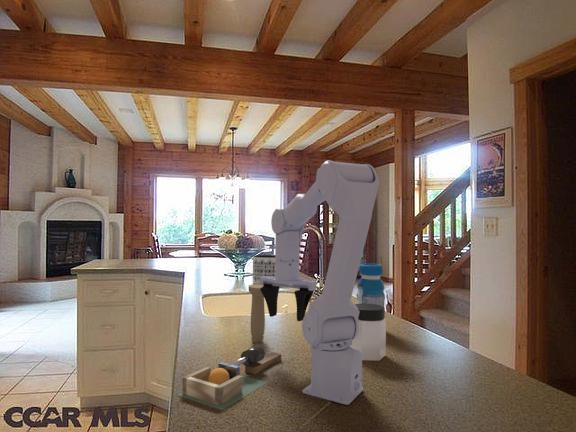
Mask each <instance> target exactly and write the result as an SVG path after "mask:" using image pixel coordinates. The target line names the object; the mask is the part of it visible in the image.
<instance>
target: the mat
mask: <svg viewBox="0 0 576 432" xmlns="http://www.w3.org/2000/svg"><path fill="white" fill-rule="evenodd" d="M240 376H242V393H240V394H238V395H237V396H235V397H233V398H231V399H230V400H228V401H226V402H225V403H223V404H221V405H216V404H213V403H210V402H207V401H204V400H201V399H198V398H195V397H192V396H189V395H186V394H183V393H182V392H183V391H181V392H179V393H177V394H176V396H178V397H182V398H184V399H187V400H190V401H194V402H195V403H199V404H202V405H205V406H207V407H211V408H213V409H217V410H220V411H223V410H226V409H227V408H228V407H229V408H230V406H232V405H233V404H235V403H237V402H238V401H240V400H242V399H243V398H245V397H246V396H248V395H250V394H251V393H253V392H255V391H256V390H258V389H260V388H262V387H263V386H265V385H266V384H268V381H264V380H261V379H257V378H253V377H250V376H245V375H241V374H240Z"/></svg>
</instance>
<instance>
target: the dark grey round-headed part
mask: <svg viewBox="0 0 576 432" xmlns="http://www.w3.org/2000/svg"><path fill="white" fill-rule="evenodd" d="M265 355H266V353H265V350H264V348H263V346H261V345H255V346H253V347H250V348H248V349H246V350H245V351H242V352H241V354H240V358H239V359H237V360H235V361H232V362H231V363H227V362H223V361H221V362H218V367H217V368H223V369H225V370H226V371H227V372H228V374H229V377H230V379H232V378H234V377H236V376H238V375H239V376H240V375H241V374H240V373H241V372H240V370H241V369H240V368H241V367H240V366H241V365H243V366H244V367H245V366H247V367H248V366H251V365H253V364H255V363H257V362H259V361H261V360H263V358H264V356H265Z"/></svg>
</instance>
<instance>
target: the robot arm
mask: <svg viewBox="0 0 576 432" xmlns="http://www.w3.org/2000/svg"><path fill="white" fill-rule="evenodd" d="M380 182H381V180H380V179H379V177H378V174H377V172H376V169H375V168H374V166H372V165H371V164H369V163H363V164H362V163H361V164H360V163H350V162H341V161H340V162H339V161H334V160H325V161H324V162H323V163H322V164H321V165H320V167H319V168H317V171H316V177H315V181H314V183H313V184H312V185H311V186H310V188H309V189H308V190H307V191H306V193H297V194H296V195H295V197H294V198H292V200H291V201H290V202H289V203H288V204H287V205H286V206H285V207H284V208H283V209H282V208H281V209H280V208H275V210H274V211H273V212H272V215H271V219H270V220H271V221H270V223H271V230H272V231H273V233H274V235H275V253H274V255H275V277H269V276H262V277H260V285H263V287H261V288H260V290H261V292H262V294H263V296H264V302H265V303H266V306H267V311H268V315H269V316H268V317H269V318H270V317H271V318H272V317H275V316H277V312H278V298H279V292H280V289H281V288H282V287H283V288H291V289H297V290H294V296H295V303H296V321H297V322H301V329H302V330H301V331H302V335H303V338H304V339H305V341H306V343H307V344H308V345H309V346H310V347H311V357H310V361H311V364H310V365H311V366H310V367H311V368H310V373H311V374H310V384H309V385H307V386H306V387H305V388H303V389H302V391H301V392H302V394H305V395H308V396H312V397H316V398H319V399H323V400H327V401H329V402H330V401H331V402H335V403H339V404H342V405H346V406H349V405H350V404H351V403H352V402H353V401H354V400H355V399H356V398H357V397H358V396H359V395H360V394H361V393H362V392H363V391H364V387H363V360H362V355H361V352H360V351H359V350H356V349H353V348H351V347H350V346H351V345H352V340H354V339H355V338H356V336H357V334H358V328H359V325H358V317H359V313H360V312H359V310H358V308H357V306H356V305H355V304H356V303H354V301H352V295H353V293H354V292H353V291H354V288H355V285H356V280H357V276H358V273H359V270H360V264H361V261H362V256H363V252H364V250H365V245H366V241H367V236H368V232H369V229H370V225H371V221H372V217H373V210H374V206H375V202H376V198H377V194H378V190H379V186H380ZM325 201H326V203H327V204H328V206H329V208H330V209H331V210H332V211H334V212H336V213H337V215H338V217H339V221H338V225H337V228H336V233H335V237H334V240H333V246H332V249H331V255H330V259H329V264H328V268H327V272H326V278H325V279H324V280H325V281H324V286H323V291H322V293H321V294H320V295H319V296H317V297H316V298H315V299H314V300H312V301H311V302H310V300H311V299H312V297H313V295H314V294H315V291H316V290H317V281H316V280H308V279H303V278H300V247H301V246H300V242H301V241H302V239H303V232H304V228H305V224H306V223H307V222H308V221H309V220H311V219H312V218H313V217H314V216H315V215H316V214H317V212H318V206H319V205H321V204H322V203H323V202H325Z"/></svg>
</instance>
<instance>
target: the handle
mask: <svg viewBox="0 0 576 432" xmlns="http://www.w3.org/2000/svg"><path fill="white" fill-rule="evenodd" d="M261 287H263V285H260V284H249V285H248V292H249V293H250V294H251V306H250V307H251V311H250V336H251V338H250V339H251V342H252V343H256V344H259V343H263V341H264V335H265V329H266V328H265V326H266V323H265V322H266V318H265V317H266V314H265V313H266V312H265V298H264V296H263V294H262V292H261V290H260V288H261Z"/></svg>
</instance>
